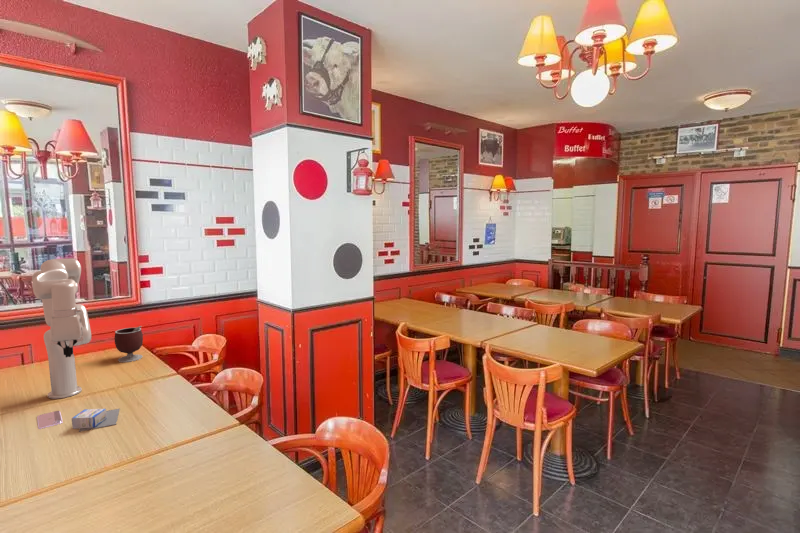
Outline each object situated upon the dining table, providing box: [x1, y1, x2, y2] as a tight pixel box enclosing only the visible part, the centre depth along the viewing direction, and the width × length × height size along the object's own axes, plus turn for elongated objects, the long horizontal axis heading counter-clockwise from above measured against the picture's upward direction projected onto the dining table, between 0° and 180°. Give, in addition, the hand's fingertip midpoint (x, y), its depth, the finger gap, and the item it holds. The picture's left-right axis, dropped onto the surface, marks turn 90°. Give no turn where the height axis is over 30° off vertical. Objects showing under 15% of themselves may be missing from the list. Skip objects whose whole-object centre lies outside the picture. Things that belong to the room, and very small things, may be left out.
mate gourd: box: [114, 325, 144, 363], centre depth 250 cm, size 16×14×20 cm
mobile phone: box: [36, 410, 63, 430], centre depth 176 cm, size 8×1×15 cm
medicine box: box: [71, 408, 107, 429], centre depth 171 cm, size 8×4×9 cm
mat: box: [78, 408, 121, 433], centre depth 175 cm, size 16×12×1 cm
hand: (68, 356), depth 178 cm, fingers closed
